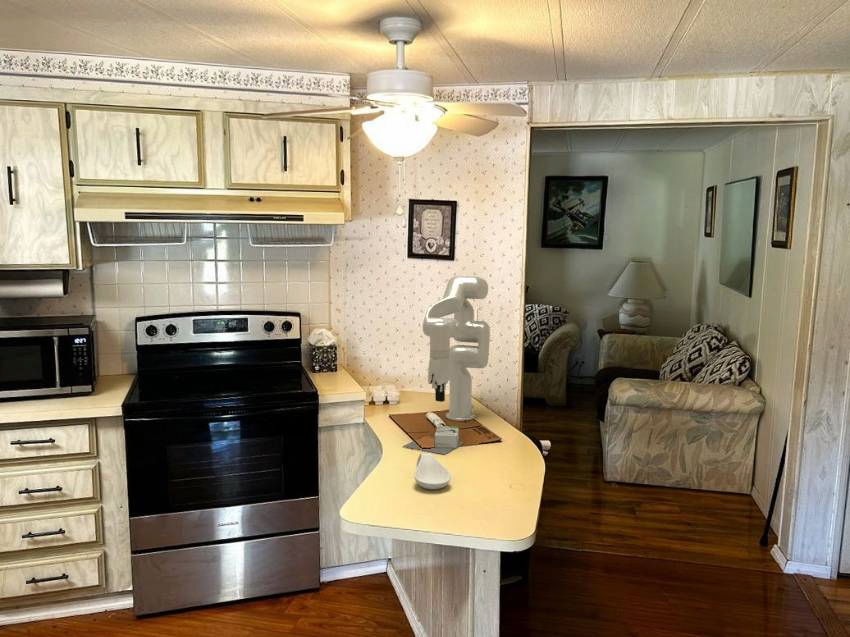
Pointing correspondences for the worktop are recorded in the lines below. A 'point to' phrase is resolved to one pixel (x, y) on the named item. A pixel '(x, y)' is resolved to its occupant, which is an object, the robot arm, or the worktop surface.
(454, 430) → the ink box
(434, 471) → the spoon rest
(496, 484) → the worktop surface
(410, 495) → the worktop surface
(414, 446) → the mat
